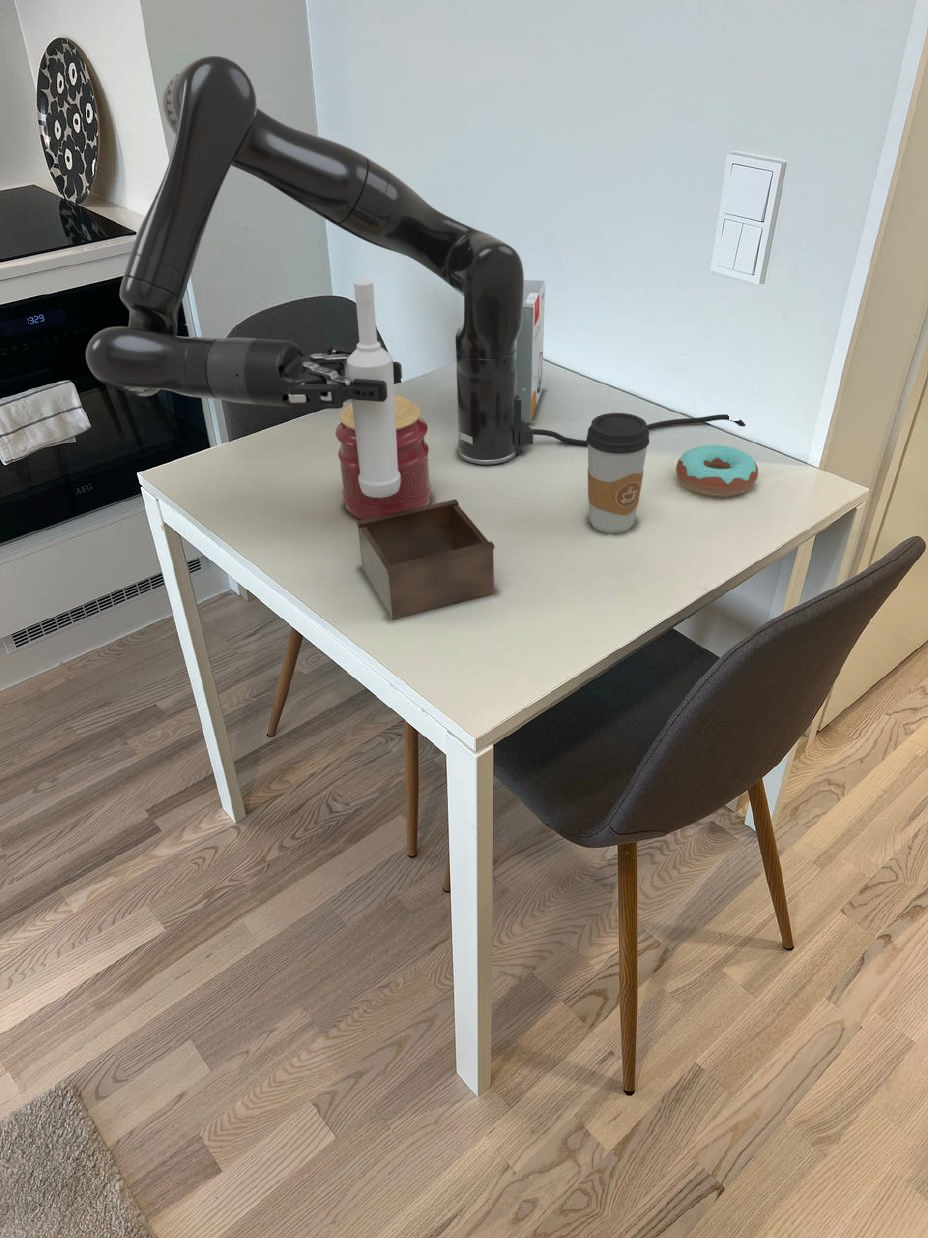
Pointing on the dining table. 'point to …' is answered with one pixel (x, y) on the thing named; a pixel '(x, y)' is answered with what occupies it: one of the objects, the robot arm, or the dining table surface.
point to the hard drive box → (530, 348)
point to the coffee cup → (615, 470)
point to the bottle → (373, 403)
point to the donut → (717, 470)
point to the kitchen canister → (408, 456)
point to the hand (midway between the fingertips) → (393, 381)
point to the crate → (426, 558)
